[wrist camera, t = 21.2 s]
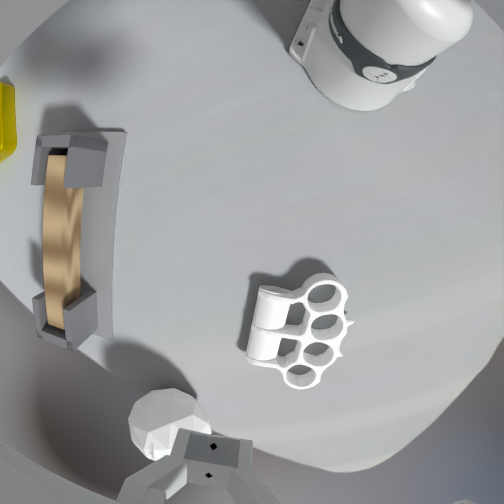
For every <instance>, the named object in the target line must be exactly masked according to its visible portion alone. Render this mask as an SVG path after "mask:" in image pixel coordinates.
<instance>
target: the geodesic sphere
mask: <svg viewBox="0 0 504 504" xmlns="http://www.w3.org/2000/svg"><path fill="white" fill-rule="evenodd" d="M128 421H129V427H130V433H131V438H132V441H133V442H134V444H135V445H136V446H137V447H138V448H139V449H140V450H141V451H142V452H143V454H144V455H145V456H146V457H147V458H148V459H152V460H155V461H157V460H159V459H160V458H162V457H163V456H165V455H170V453H171V450H172V447H173V444H174V441H175V438H176V435H177V432H178V429H179V428H183V429H188V430H192V431H197V432H201V433H206V434H211V428H210V424H209V420H208V415H207V411H206V410H205V409H204V408H203V407H202V406H201V405H200V404H199V403H198V402H197V401H196V400H195V399H194V398H193V397H192V396H191V395H189V394H187V393H184V392H182V391H180V390H177V389H175V388H169V389H161V390H152V391H150V392H149V393H147V394H146V395H145V396H143V397H142V398H141V399H139V400H138V401H136V402H135V404H134V406H133V409H132V411H131V414H130V416H129V418H128Z"/></svg>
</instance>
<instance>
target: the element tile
mask: <svg viewBox="0 0 504 504" xmlns="http://www.w3.org/2000/svg"><path fill="white" fill-rule="evenodd" d="M16 146H17V132H16V116H15V88H14V86H12V85H9V84H5V83H2V82H0V163H1V162H2V161H3V160H5V159H6V158H7V157H9V156H10V155H12V154H13V152H14V151H15V149H16Z"/></svg>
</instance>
